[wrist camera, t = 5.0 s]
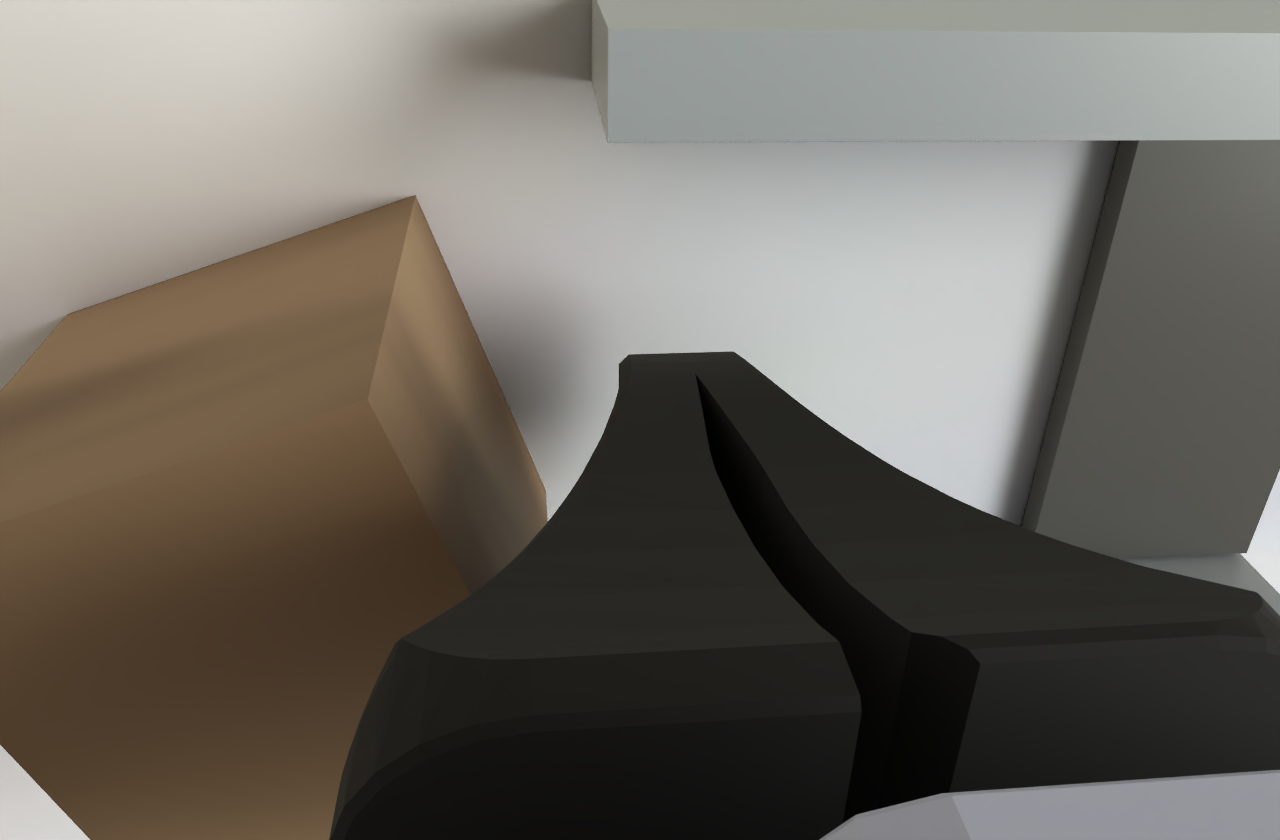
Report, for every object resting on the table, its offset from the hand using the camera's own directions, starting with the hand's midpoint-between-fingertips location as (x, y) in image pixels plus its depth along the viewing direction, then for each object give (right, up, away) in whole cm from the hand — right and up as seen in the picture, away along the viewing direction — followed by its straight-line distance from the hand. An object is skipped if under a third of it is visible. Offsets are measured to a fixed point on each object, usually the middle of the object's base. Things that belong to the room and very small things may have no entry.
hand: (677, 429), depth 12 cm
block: (-5, 0, +1) cm, 5 cm away
